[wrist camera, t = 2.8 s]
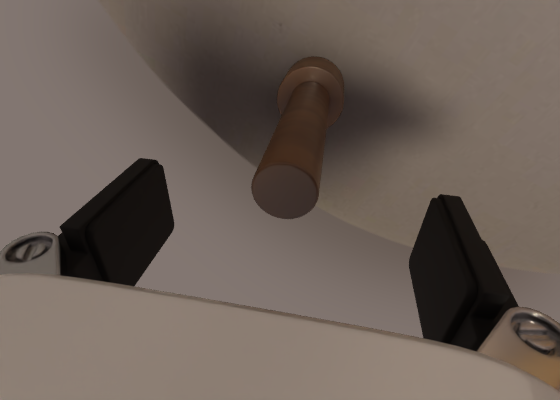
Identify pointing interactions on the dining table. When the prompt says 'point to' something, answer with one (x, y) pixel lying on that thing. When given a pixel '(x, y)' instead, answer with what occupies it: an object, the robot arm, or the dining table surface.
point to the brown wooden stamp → (299, 139)
